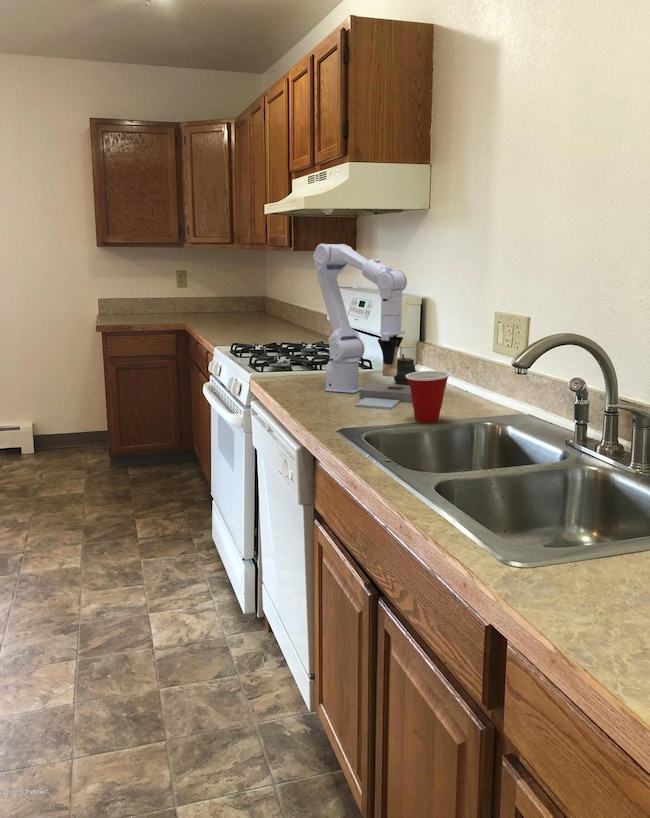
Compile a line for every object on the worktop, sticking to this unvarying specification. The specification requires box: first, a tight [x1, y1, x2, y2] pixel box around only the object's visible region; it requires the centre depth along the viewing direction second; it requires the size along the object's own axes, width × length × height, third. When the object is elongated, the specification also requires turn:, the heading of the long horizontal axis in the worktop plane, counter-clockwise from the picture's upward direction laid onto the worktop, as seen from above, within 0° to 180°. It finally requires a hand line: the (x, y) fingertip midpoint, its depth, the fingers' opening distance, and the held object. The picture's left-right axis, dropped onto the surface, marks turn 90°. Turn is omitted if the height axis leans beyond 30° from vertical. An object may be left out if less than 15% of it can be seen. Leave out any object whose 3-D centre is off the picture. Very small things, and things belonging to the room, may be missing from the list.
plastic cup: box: [406, 370, 450, 424], centre depth 178 cm, size 11×11×12 cm
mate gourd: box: [393, 354, 417, 385], centre depth 227 cm, size 7×8×10 cm
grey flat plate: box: [358, 382, 412, 403], centre depth 207 cm, size 18×12×2 cm, turn 71°
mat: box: [355, 398, 401, 410], centre depth 197 cm, size 10×10×1 cm
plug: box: [382, 347, 399, 378], centre depth 201 cm, size 3×3×8 cm
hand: (389, 363), depth 201 cm, fingers closed on plug, 3 cm apart
